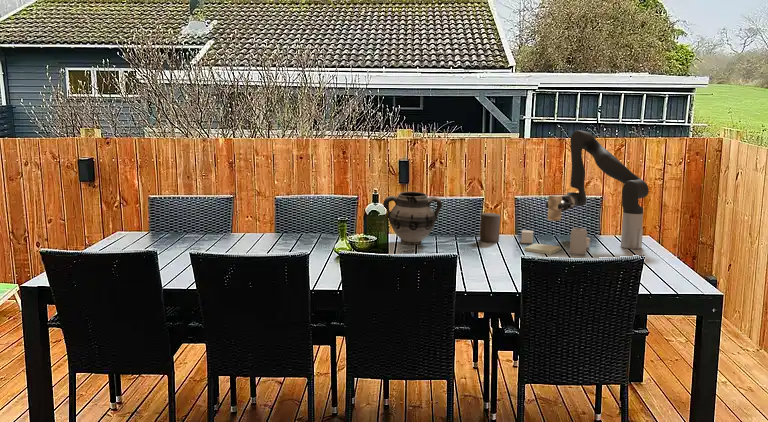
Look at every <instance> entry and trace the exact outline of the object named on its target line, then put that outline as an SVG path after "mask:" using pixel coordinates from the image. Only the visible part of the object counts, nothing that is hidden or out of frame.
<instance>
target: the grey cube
mask: <svg viewBox="0 0 768 422" xmlns="http://www.w3.org/2000/svg"><path fill="white" fill-rule="evenodd" d="M533 239H534V230H528V229H527V230H526V229H521V240H520V241H521V242H520V243H524V244H533Z"/></svg>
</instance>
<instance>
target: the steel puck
mask: <svg viewBox="0 0 768 422" xmlns="http://www.w3.org/2000/svg"><path fill="white" fill-rule="evenodd" d="M590 246H591V238H590V237H588V236H587V246H586V251H588V250H590Z"/></svg>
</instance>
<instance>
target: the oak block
mask: <svg viewBox="0 0 768 422" xmlns="http://www.w3.org/2000/svg"><path fill="white" fill-rule="evenodd" d="M562 196H563V195H558V194H550V195H548V200H549V201H548V200H547V201H548V208H547V221H553V222H558V221H561V220H562V211H561V210H562V209H558V205H559V204H562Z"/></svg>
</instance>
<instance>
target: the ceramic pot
mask: <svg viewBox="0 0 768 422" xmlns="http://www.w3.org/2000/svg"><path fill="white" fill-rule="evenodd" d="M390 202H394V203H395V205H394V206H393V207H392V209H391V210H390V207H389V204H390ZM433 202H434V203H436V207H435V210H433V208H432V207H431V204H432V203H433ZM382 206H383V208H384V207H385V208H386V209H387V211H388V218H389V220H388V222H389V225H390V226H391V228H392V231H393V232H394V233H395V234H396V236H397V237H398V238H399V239H400V242H401V244H403V245H408V246H409V245H413V246H414V245H415V246H416V245H420V244H422V241H423V240H424V239H426V238H427V237H428V236H429V235H430V233H431V232H432V230H433V229H434V227H435V224H436V221H437V220H438V221H439V218H438V215H439V213H440V211H441V209H442V207H443V201H441V199H440V198H438V197H436V196H429V197H428V195H427V194H426V193H425V192H421V191H414V190H413V191H402V192H399V193H398V194H397V196H394V195H389V196H387V197H385V198H384V200H383V204H382Z"/></svg>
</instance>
